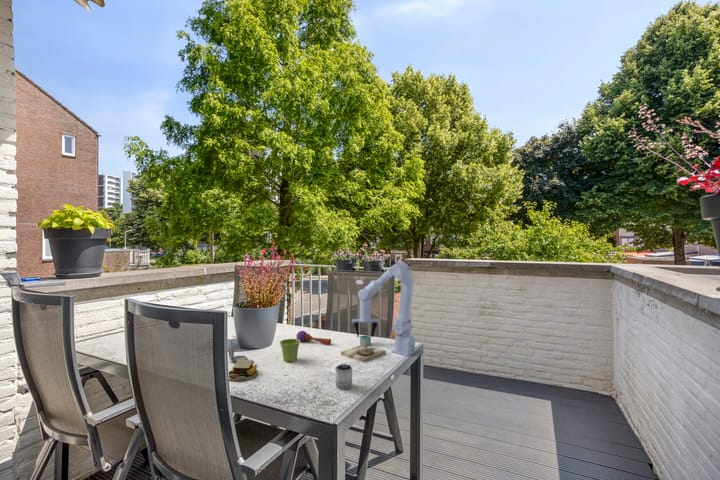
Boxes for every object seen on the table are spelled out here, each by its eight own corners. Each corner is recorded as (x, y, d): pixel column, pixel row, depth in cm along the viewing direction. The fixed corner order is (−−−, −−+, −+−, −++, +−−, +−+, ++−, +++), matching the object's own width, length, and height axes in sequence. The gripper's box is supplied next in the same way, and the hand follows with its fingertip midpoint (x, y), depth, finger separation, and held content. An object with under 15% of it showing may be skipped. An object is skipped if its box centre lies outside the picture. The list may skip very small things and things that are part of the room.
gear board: (385, 353, 170) (385, 342, 170) (364, 362, 158) (364, 350, 158) (362, 347, 180) (362, 336, 180) (340, 354, 168) (341, 343, 168)
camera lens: (339, 382, 136) (340, 362, 136) (354, 384, 133) (354, 364, 133) (332, 388, 130) (332, 367, 130) (347, 391, 127) (347, 370, 127)
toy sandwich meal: (219, 381, 137) (219, 369, 137) (236, 369, 150) (236, 358, 150) (249, 383, 135) (249, 371, 135) (263, 370, 148) (263, 359, 148)
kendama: (327, 339, 181) (294, 332, 188) (327, 349, 182) (294, 342, 190) (332, 334, 186) (300, 328, 194) (332, 344, 188) (300, 337, 195)
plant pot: (275, 360, 160) (275, 341, 160) (292, 355, 167) (292, 337, 167) (287, 365, 154) (287, 345, 154) (304, 359, 161) (304, 341, 161)
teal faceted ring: (372, 344, 185) (372, 336, 185) (365, 346, 181) (365, 338, 181) (364, 342, 189) (364, 334, 189) (358, 344, 185) (358, 336, 185)
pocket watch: (249, 358, 162) (249, 337, 162) (236, 364, 154) (236, 342, 154) (236, 356, 165) (236, 335, 165) (222, 362, 158) (222, 340, 158)
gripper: (378, 309, 190) (377, 334, 190) (351, 309, 189) (351, 334, 189) (379, 312, 183) (379, 338, 183) (352, 312, 182) (351, 338, 182)
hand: (365, 336), depth 185 cm, fingers open, 7 cm apart
